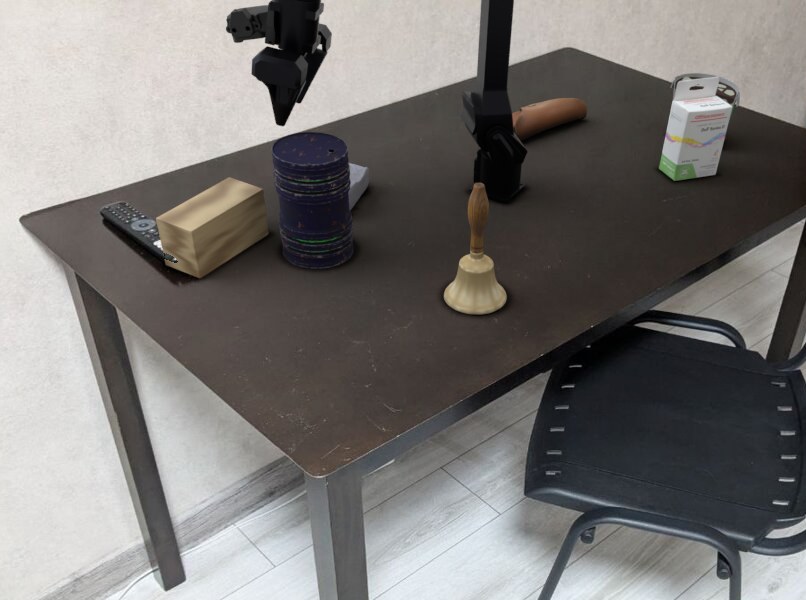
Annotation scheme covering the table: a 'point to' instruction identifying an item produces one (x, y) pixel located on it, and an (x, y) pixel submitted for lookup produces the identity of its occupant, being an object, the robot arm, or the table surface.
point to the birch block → (213, 226)
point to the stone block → (357, 183)
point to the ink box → (695, 130)
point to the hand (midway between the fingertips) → (288, 113)
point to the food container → (724, 90)
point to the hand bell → (476, 266)
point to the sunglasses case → (547, 116)
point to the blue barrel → (313, 199)
